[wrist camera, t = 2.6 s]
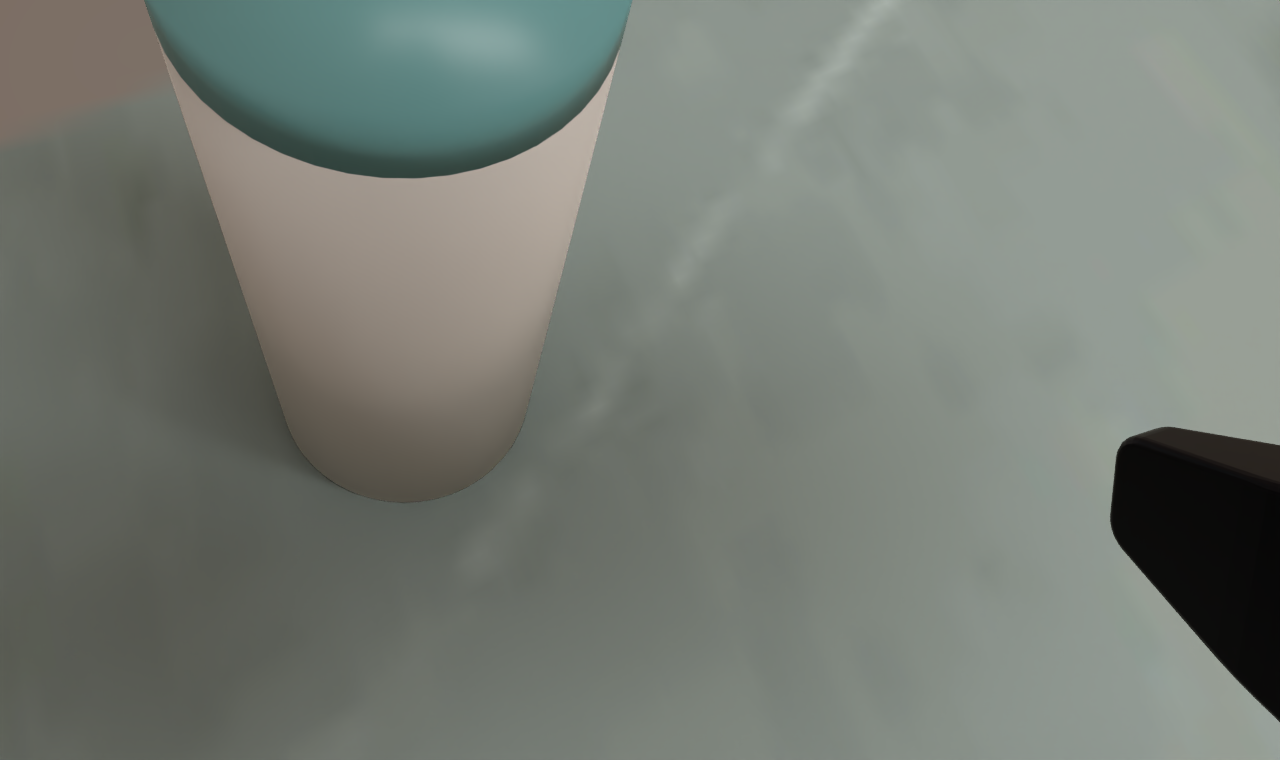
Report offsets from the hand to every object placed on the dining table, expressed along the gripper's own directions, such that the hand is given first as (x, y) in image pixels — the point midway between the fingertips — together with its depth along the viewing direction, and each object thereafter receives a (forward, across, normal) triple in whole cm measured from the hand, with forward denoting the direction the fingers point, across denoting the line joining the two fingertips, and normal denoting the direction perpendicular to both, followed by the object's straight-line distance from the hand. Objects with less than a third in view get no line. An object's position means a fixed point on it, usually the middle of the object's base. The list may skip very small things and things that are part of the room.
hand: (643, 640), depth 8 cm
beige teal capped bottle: (+15, 0, +4) cm, 15 cm away
